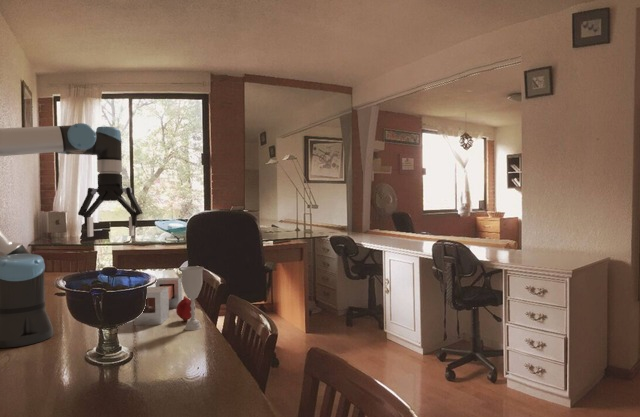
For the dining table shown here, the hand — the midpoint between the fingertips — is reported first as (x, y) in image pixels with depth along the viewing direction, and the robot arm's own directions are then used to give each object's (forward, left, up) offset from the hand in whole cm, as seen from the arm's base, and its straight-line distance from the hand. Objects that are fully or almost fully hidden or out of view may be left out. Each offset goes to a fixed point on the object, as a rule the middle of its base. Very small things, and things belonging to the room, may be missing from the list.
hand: (111, 236), depth 147 cm
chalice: (-19, -31, -27) cm, 45 cm away
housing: (-10, -16, -27) cm, 33 cm away
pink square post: (+2, -16, -23) cm, 28 cm away
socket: (+10, -16, -27) cm, 33 cm away
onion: (-11, -27, -27) cm, 40 cm away
